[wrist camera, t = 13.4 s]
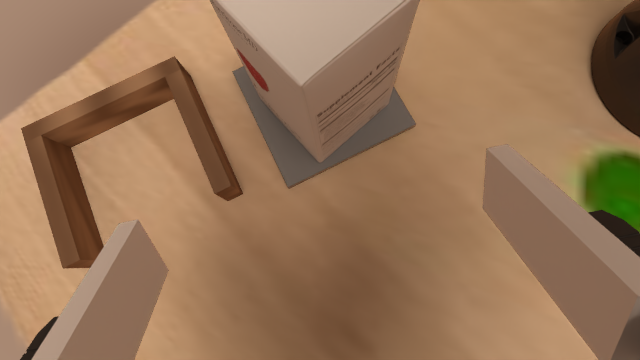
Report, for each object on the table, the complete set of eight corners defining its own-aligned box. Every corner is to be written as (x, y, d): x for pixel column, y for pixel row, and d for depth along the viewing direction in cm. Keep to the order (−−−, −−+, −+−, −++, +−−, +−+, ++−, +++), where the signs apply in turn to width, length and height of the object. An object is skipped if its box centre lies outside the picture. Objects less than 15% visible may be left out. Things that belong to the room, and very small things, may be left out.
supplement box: (257, 98, 34) (193, -22, 20) (327, 41, 35) (316, -115, 21) (319, 167, 32) (299, 89, 18) (392, 104, 33) (429, -19, 19)
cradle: (190, 75, 36) (174, 56, 33) (243, 193, 33) (231, 185, 29) (52, 141, 35) (21, 128, 32) (92, 267, 32) (62, 268, 29)
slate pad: (350, 19, 36) (350, 15, 36) (414, 126, 33) (416, 124, 33) (234, 74, 36) (232, 71, 35) (288, 188, 33) (288, 187, 32)
